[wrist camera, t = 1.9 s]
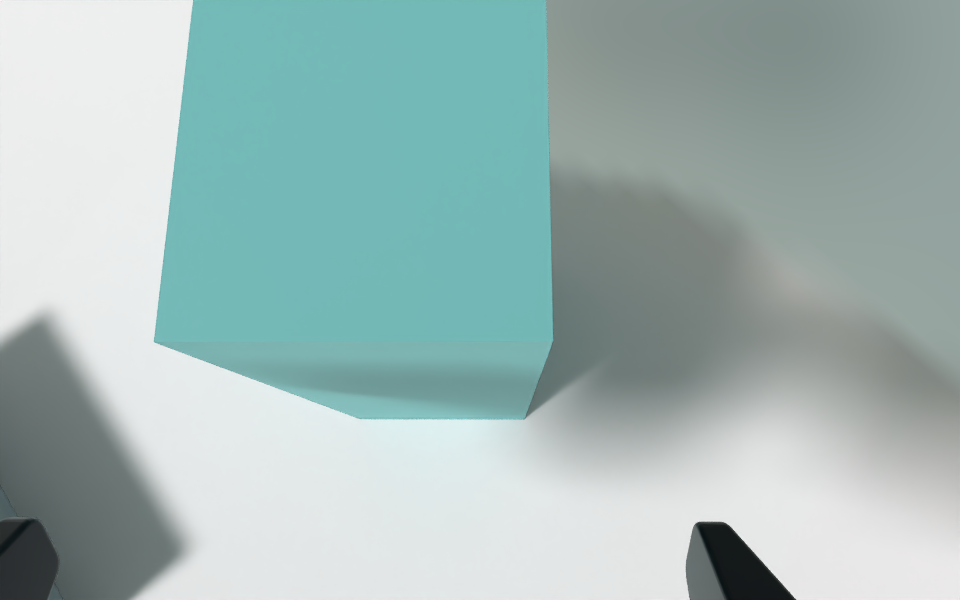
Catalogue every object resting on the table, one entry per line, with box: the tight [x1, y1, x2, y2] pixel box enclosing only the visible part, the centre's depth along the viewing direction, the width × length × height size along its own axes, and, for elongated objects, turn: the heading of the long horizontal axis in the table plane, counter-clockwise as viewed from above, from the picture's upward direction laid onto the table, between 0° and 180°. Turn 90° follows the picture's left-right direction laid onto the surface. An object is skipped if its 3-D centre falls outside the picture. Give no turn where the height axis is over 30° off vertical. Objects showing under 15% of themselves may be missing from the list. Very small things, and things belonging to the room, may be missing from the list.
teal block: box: [154, 0, 553, 419], centre depth 16 cm, size 5×5×13 cm
